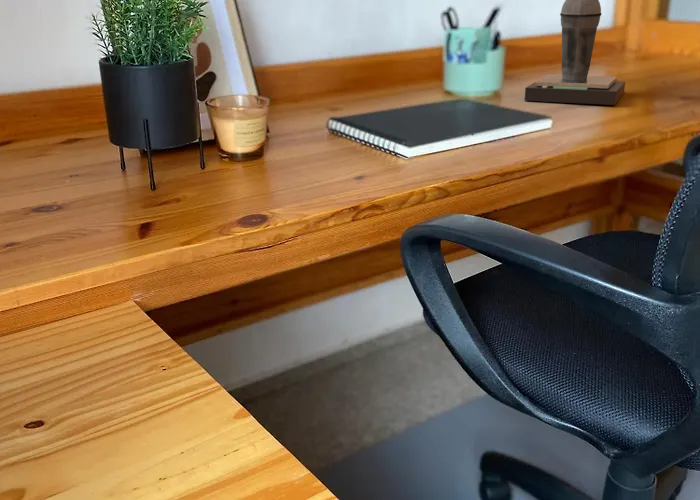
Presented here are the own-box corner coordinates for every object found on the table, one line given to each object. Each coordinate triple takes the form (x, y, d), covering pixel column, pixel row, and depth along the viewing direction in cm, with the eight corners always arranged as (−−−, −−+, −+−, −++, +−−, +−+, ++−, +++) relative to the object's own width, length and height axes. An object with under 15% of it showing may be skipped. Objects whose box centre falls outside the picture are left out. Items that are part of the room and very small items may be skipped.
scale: (624, 93, 138) (625, 79, 137) (614, 105, 127) (616, 89, 126) (540, 90, 145) (541, 76, 144) (524, 100, 133) (525, 85, 132)
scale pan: (616, 81, 137) (616, 76, 136) (608, 88, 127) (608, 84, 127) (547, 78, 142) (548, 74, 142) (535, 86, 133) (535, 81, 133)
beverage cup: (602, 78, 134) (615, -37, 126) (577, 83, 130) (588, -35, 122) (571, 73, 139) (582, -37, 132) (546, 78, 136) (555, -35, 128)
